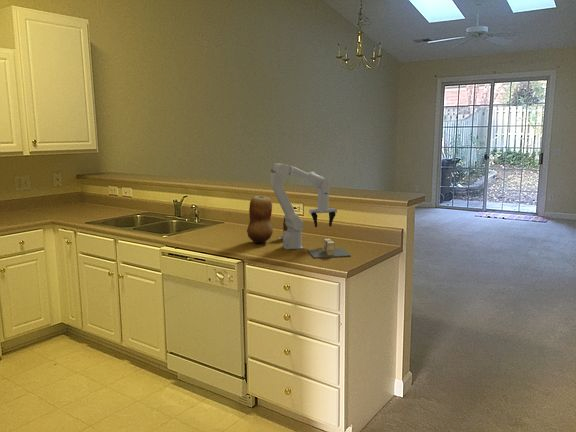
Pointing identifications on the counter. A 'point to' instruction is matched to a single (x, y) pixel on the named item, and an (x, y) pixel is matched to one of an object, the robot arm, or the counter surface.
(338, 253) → the mat
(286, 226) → the condiment
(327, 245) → the tile
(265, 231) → the butternut squash
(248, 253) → the counter surface
